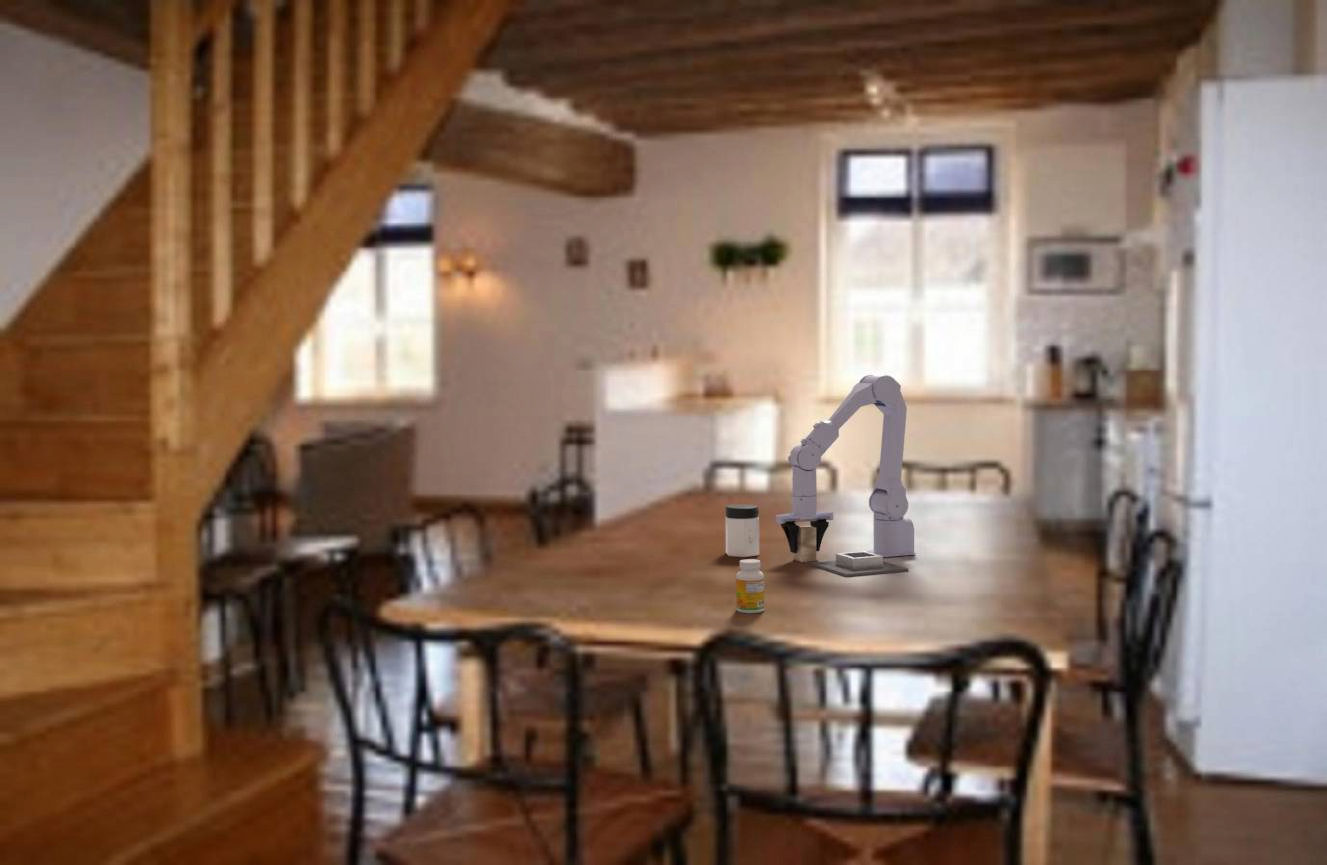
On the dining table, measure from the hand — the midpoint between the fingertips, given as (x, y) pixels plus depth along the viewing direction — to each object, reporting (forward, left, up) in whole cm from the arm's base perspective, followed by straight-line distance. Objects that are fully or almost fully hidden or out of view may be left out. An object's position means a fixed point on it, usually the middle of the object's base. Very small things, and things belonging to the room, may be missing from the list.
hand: (804, 551), depth 280 cm
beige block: (0, 0, -2) cm, 2 cm away
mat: (-6, +15, -2) cm, 16 cm away
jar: (+10, -14, -2) cm, 17 cm away
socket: (-6, +15, -2) cm, 16 cm away
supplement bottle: (+36, +45, -2) cm, 58 cm away
